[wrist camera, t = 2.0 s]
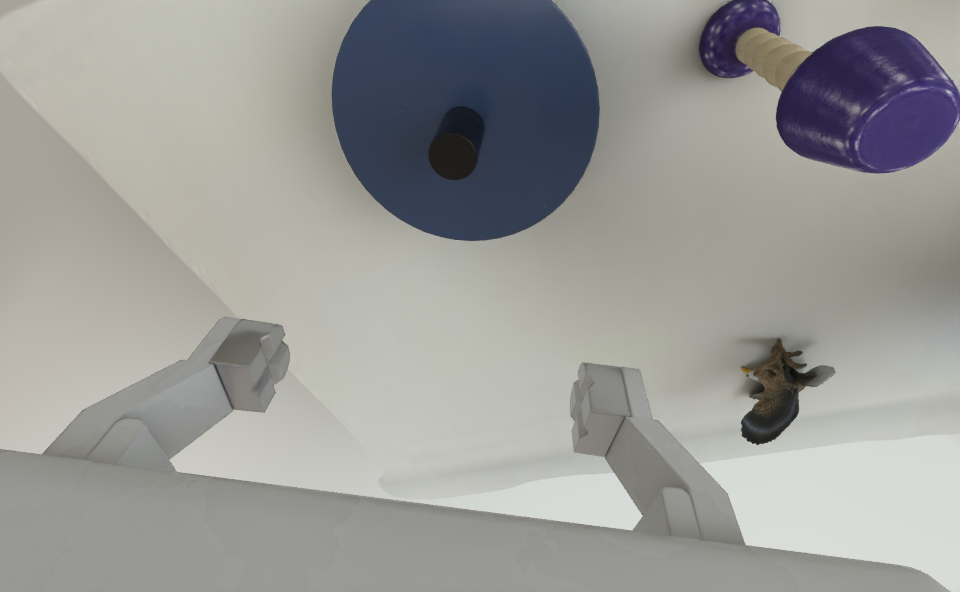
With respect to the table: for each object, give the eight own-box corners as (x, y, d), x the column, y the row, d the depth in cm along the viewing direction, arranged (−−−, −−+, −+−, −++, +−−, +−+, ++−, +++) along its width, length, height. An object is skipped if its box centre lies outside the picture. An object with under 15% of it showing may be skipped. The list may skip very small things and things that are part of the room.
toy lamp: (678, 67, 28) (792, 188, 16) (714, -23, 25) (893, 35, 13) (752, 82, 28) (927, 214, 16) (797, -5, 25) (1058, 69, 13)
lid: (632, -19, 21) (654, -4, 17) (566, 244, 30) (570, 293, 26) (322, -55, 21) (272, -49, 17) (351, 216, 31) (323, 260, 27)
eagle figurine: (713, 354, 42) (717, 425, 46) (790, 392, 36) (786, 471, 40) (773, 319, 44) (771, 391, 48) (855, 350, 38) (845, 430, 41)
